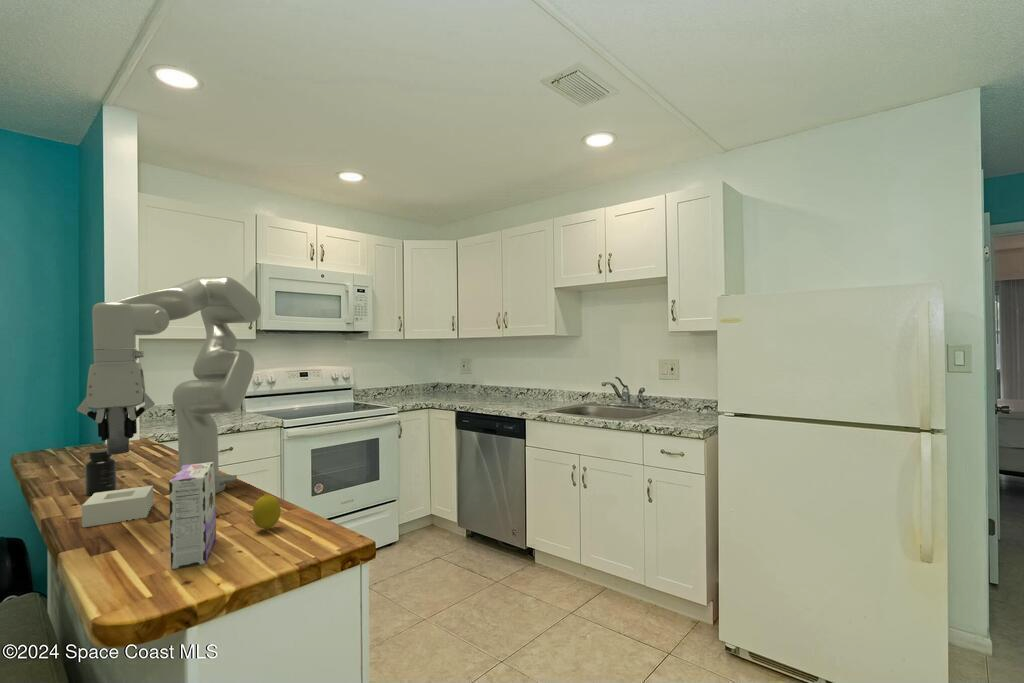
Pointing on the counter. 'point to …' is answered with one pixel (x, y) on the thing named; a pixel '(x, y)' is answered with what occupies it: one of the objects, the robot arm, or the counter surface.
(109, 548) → the counter surface
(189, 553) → the candy box
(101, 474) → the supplement bottle
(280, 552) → the counter surface
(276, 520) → the lemon
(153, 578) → the counter surface
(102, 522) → the socket block
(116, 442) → the peg
